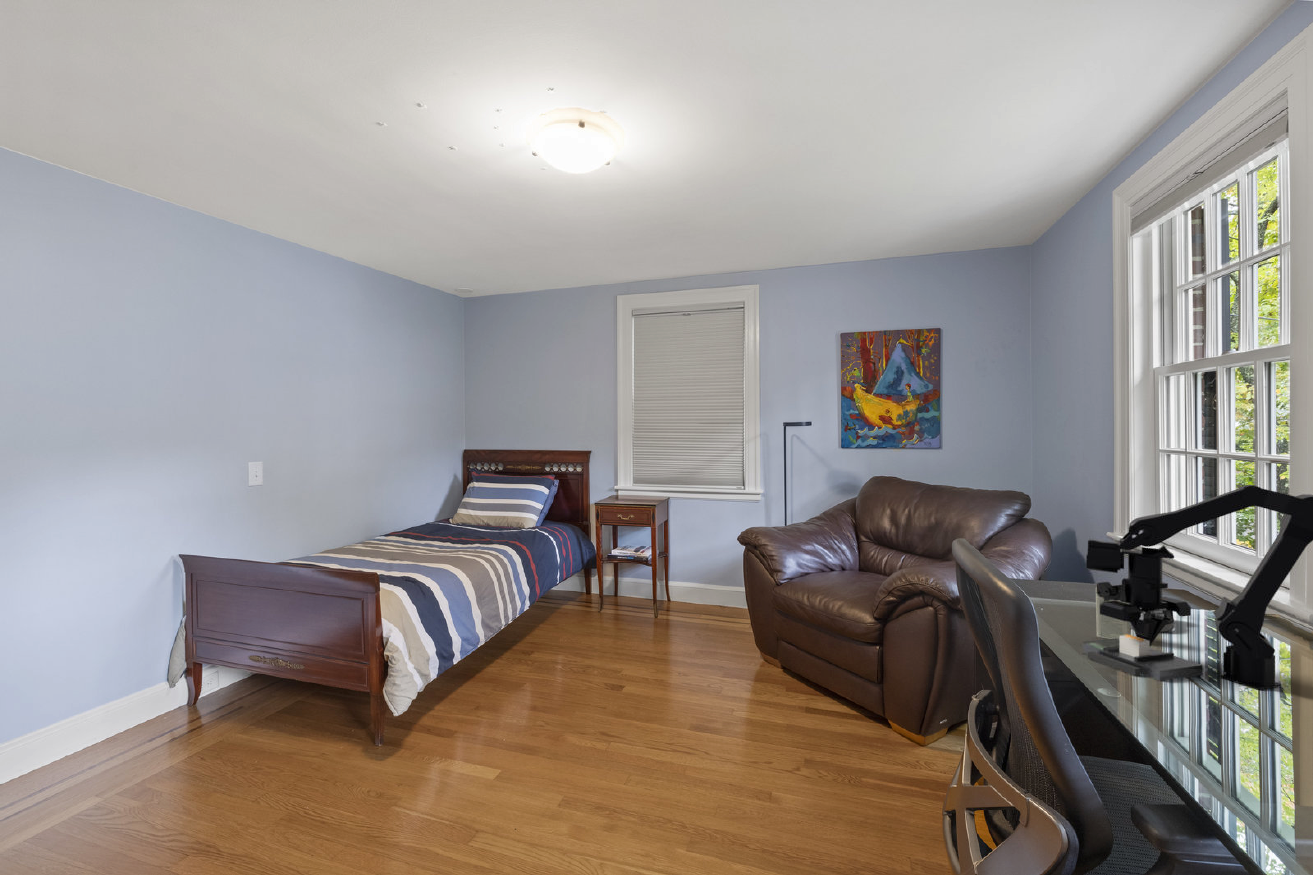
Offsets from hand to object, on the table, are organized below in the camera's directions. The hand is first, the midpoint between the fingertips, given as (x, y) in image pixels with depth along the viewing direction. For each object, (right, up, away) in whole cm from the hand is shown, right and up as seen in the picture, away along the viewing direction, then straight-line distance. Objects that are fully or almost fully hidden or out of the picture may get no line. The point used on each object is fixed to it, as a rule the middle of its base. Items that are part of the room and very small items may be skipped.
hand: (1144, 648), depth 127 cm
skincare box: (+5, -3, +16) cm, 17 cm away
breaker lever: (-3, -1, -1) cm, 3 cm away
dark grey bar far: (-2, -3, +9) cm, 10 cm away
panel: (-1, -3, 0) cm, 3 cm away
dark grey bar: (-9, -3, -2) cm, 10 cm away
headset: (+23, -4, +29) cm, 37 cm away
